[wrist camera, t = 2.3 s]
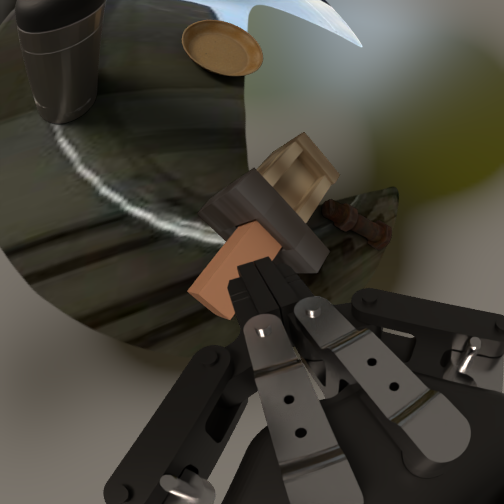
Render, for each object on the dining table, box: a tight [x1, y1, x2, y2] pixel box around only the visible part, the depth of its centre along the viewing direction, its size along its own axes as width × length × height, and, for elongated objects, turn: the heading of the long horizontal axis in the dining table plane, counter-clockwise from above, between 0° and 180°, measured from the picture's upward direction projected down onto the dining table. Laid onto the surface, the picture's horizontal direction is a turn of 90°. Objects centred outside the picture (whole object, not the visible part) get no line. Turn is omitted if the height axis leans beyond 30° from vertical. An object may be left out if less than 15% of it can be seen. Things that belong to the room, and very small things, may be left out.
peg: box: [187, 219, 282, 320], centre depth 29 cm, size 13×4×4 cm, turn 141°
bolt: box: [322, 199, 392, 250], centre depth 46 cm, size 6×5×15 cm
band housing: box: [197, 132, 340, 273], centre depth 34 cm, size 16×12×12 cm
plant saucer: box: [182, 20, 263, 76], centre depth 37 cm, size 15×15×3 cm
